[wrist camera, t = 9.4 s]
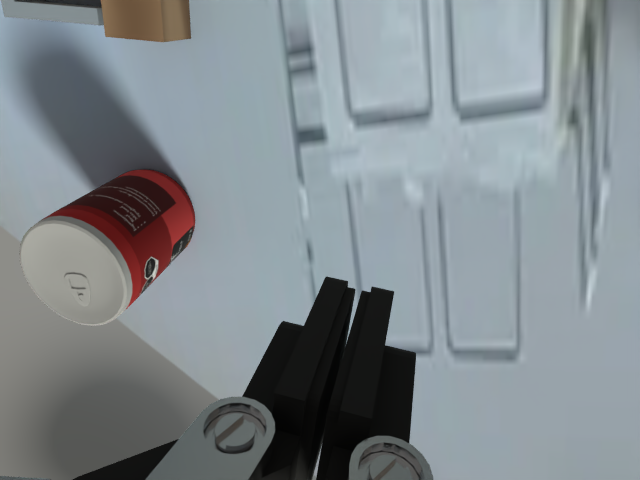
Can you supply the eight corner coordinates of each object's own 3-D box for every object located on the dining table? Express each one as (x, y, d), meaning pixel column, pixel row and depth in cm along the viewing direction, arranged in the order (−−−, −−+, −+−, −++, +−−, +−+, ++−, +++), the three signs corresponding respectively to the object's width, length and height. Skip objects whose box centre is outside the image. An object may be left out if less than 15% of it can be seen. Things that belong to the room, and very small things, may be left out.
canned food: (141, 260, 43) (59, 335, 33) (97, 179, 40) (-7, 235, 30) (213, 242, 40) (148, 316, 31) (172, 155, 37) (86, 206, 28)
